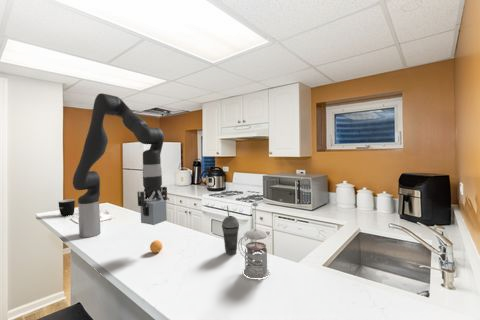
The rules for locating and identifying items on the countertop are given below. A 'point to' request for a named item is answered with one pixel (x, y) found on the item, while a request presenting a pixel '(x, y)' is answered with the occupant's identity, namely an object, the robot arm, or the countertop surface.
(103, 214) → the tray
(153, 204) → the grey square block
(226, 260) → the countertop surface
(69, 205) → the mug
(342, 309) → the countertop surface
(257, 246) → the french press
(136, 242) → the countertop surface
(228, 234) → the beverage cup
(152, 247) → the ball
